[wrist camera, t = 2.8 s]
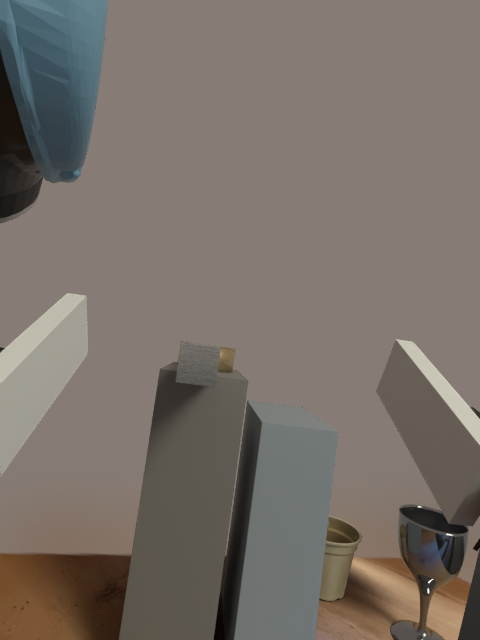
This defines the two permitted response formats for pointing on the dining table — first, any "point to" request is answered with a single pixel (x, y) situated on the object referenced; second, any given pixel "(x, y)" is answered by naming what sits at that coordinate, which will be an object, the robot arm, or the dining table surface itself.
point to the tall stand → (184, 509)
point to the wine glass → (428, 561)
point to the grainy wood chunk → (203, 363)
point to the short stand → (278, 524)
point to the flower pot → (338, 557)
